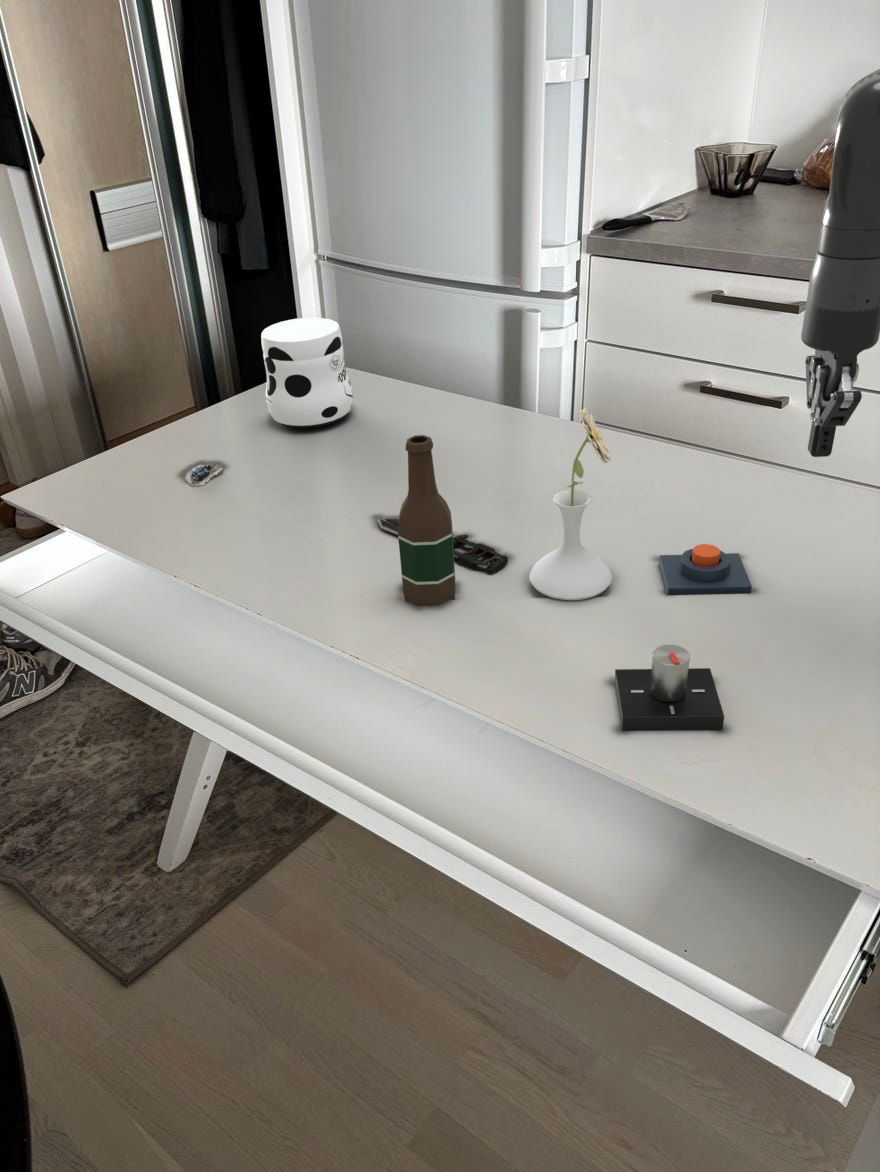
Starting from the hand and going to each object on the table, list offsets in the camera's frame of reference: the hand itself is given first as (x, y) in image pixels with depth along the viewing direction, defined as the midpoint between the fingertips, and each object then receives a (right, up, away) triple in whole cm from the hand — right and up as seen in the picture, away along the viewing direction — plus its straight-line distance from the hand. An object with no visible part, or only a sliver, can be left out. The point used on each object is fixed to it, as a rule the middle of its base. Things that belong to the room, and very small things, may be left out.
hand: (818, 453), depth 110 cm
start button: (-5, -10, +25) cm, 27 cm away
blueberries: (-83, +9, +69) cm, 108 cm away
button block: (-5, -13, +27) cm, 30 cm away
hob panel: (-16, -29, +4) cm, 34 cm away
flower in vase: (-23, -13, +29) cm, 39 cm away
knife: (-42, -7, +41) cm, 59 cm away
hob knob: (-16, -27, +2) cm, 32 cm away
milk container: (-65, +24, +88) cm, 112 cm away
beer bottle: (-43, -15, +28) cm, 54 cm away
